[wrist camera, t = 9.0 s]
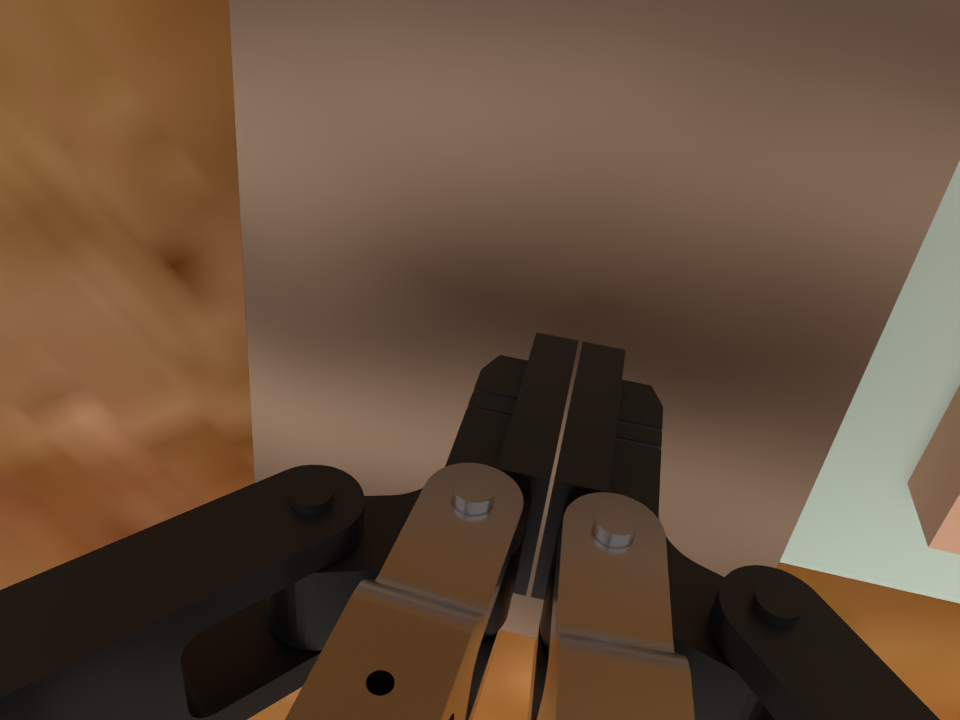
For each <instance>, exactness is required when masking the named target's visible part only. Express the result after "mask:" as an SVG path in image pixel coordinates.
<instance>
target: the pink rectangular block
mask: <svg viewBox="0 0 960 720" xmlns="http://www.w3.org/2000/svg"><path fill="white" fill-rule="evenodd" d="M907 484H908V487H909V491H910V494H911V497H912V500H913V503H914V506H915V509H916V512H917V515H918V518H919V521H920V524H921V527H922V530H923V533H924V536H925V539H926V542H927V546H928V548H933V549H937V550H941V551H946V552H950V553H955V554H959V555H960V385H959V387H958V389H957V391H956V393H955V395H954V396H953V398H952V400H951V402H950V404H949V406H948V408H947V410H946V411H945V413H944V415H943V417H942V419H941V421H940V423H939V425H938V426H937V428H936V430H935V432H934V434H933V436H932V438H931V440H930V441H929V443H928V445H927V447H926V449H925V451H924V453H923V455H922V456H921V458H920V460H919V462H918V464H917V466H916V468H915V469H914V471H913V473H912V475H911V477H910V479H909V481H908V483H907Z"/></svg>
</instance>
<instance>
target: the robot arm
mask: <svg viewBox="0 0 960 720" xmlns="http://www.w3.org/2000/svg"><path fill="white" fill-rule="evenodd" d="M578 342H579V340H574V339H569V338H564V337H559V336H554V335H549V334H544V333H539V332H537V333H536V335H535V339H534V342H533V345H532V349H531V352H530V356H529V359H528V360H523V359H518V358H513V357H509V356H504V355H499V356H498V357H496V358H495V359H494V360H492V361H491V362H490V363H489V364H487V365H486V366H485V367H484V368H482V369H481V371H480V374H479V377H478V379H477V382H476V385H475V387H474V391H473V393H472V395H471V398H470V401H469V404H468V408H467V409H466V412H465V414H464V417H463V420H462V422H461V425H460V428H459V430H458V433H457V436H456V439H455V441H454V444H453V447H452V449H451V452H450V455H449V457H448V460H447V463H446V465H445V467H444V468H442V469H440V470H438V471H437V472H435V473H434V474H433V475H432V476H431V477H430V478H429V479H428V480H427V482H426V483H425V485H424V487H423V488H421V489H419V490H416V491H413V492H410V493H405V494H400V495H380V496H364V493H363V490H362V488H361V486H360V484H359V483H358V482H357V480H356V479H354V478H353V477H352V476H351V475H350V474H348V473H346V472H345V471H342V470H340V469H338V468H335V467H331V466H326V465H302V466H297V467H293V468H290V469H287V470H285V471H282V472H280V473H278V474H275V475H273V476H270V477H268V478H266V479H263V480H261V481H259V482H256V483H254V484H251V485H249V486H247V487H244V488H242V489H240V490H237V491H235V492H232V493H230V494H228V495H225V496H223V497H221V498H218V499H216V500H213V501H211V502H209V503H206V504H204V505H202V506H199V507H197V508H194V509H192V510H190V511H187V512H185V513H183V514H180V515H178V516H175V517H173V518H171V519H168V520H166V521H164V522H161V523H159V524H156V525H154V526H152V527H149V528H147V529H145V530H142V531H140V532H137V533H135V534H133V535H130V536H128V537H126V538H123V539H121V540H118V541H116V542H114V543H111V544H109V545H107V546H104V547H102V548H99V549H97V550H95V551H92V552H90V553H88V554H85V555H83V556H80V557H78V558H76V559H73V560H71V561H69V562H66V563H64V564H61V565H59V566H57V567H54V568H52V569H50V570H47V571H45V572H42V573H40V574H38V575H35V576H33V577H31V578H28V579H26V580H23V581H21V582H19V583H16V584H14V585H12V586H9V587H7V588H4V589H2V590H0V720H247V719H248V718H250V717H252V716H253V715H255V714H257V713H258V712H260V711H262V710H264V709H265V708H267V707H269V706H270V705H272V704H274V703H275V702H277V701H279V700H280V699H282V698H284V697H285V696H287V695H289V694H290V693H292V692H294V691H295V690H297V689H299V688H301V687H302V686H303V687H302V689H301V691H300V693H299V695H298V696H297V698H296V700H295V702H294V704H293V706H292V708H291V710H290V711H289V713H288V715H287V717H286V719H285V720H472V719H473V716H474V713H475V710H476V707H477V704H478V701H479V698H480V695H481V692H482V688H483V685H484V682H485V679H486V676H487V673H488V670H489V667H490V664H491V661H492V658H493V655H494V652H495V649H496V646H497V643H498V640H499V635H500V630H501V627H502V626H503V624H504V623H505V621H506V619H507V616H508V612H509V608H510V603H511V599H512V595H513V593H515V594H519V595H524V596H526V594H527V589H528V585H529V580H530V575H531V570H532V565H533V561H534V556H535V551H536V546H537V541H538V536H539V532H540V527H541V522H542V517H543V512H544V507H545V503H546V498H547V493H548V488H549V483H550V479H551V474H552V469H553V464H554V459H555V454H556V450H557V445H558V440H559V435H560V430H561V425H562V421H563V416H564V411H565V406H566V401H567V396H568V391H569V386H570V381H571V376H572V372H573V367H574V362H575V357H576V352H577V347H578ZM624 360H625V350H624V349H619V348H614V347H609V346H604V345H599V344H594V343H589V342H584V341H583V342H582V347H581V352H580V357H579V361H578V366H577V371H576V376H575V381H574V386H573V390H572V395H571V400H570V405H569V410H568V414H567V419H566V424H565V429H564V434H563V439H562V444H561V449H560V454H559V459H558V463H557V468H556V473H555V478H554V483H553V488H552V493H551V498H550V503H549V508H548V513H547V518H546V523H545V528H544V533H543V538H542V543H541V548H540V553H539V558H538V563H537V568H536V573H535V578H534V583H533V588H532V593H531V597H533V598H537V599H542V600H544V603H543V608H542V614H541V619H540V624H539V629H538V633H537V638H536V642H535V647H534V657H533V668H532V678H531V689H530V700H529V711H528V720H940V719H939V718H938V717H937V716H936V715H935V714H934V713H933V712H932V711H931V710H930V709H929V708H928V707H927V706H926V705H925V704H924V703H923V702H922V701H921V700H920V699H919V698H918V697H917V696H916V695H915V694H914V693H913V692H912V691H911V690H910V689H909V688H908V687H907V686H906V684H905V683H904V682H903V681H902V680H901V679H900V678H899V677H898V676H897V675H896V674H895V673H894V672H893V671H892V670H891V669H890V668H889V667H888V666H887V665H886V664H885V663H884V662H883V661H882V660H881V659H880V658H879V657H878V656H877V655H876V654H875V653H874V652H873V651H872V650H871V648H870V647H869V646H868V645H867V644H866V643H865V642H864V641H863V640H862V639H861V638H860V637H859V636H858V635H857V634H856V633H855V632H854V631H853V630H852V629H851V628H850V627H849V626H848V625H847V624H846V623H845V622H844V621H843V620H842V619H841V618H840V617H839V616H838V615H837V614H836V612H835V611H834V610H833V609H832V608H831V607H830V606H829V605H828V604H827V603H826V602H825V601H824V600H823V599H822V598H821V597H820V596H819V595H818V594H817V593H816V592H815V591H814V590H813V589H812V588H811V587H810V586H808V585H807V584H806V583H804V582H803V581H802V580H800V579H799V578H797V577H795V576H793V575H792V574H789V573H787V572H785V571H783V570H780V569H776V568H773V567H768V566H762V565H749V566H743V567H739V568H737V569H735V570H733V571H731V572H730V573H729V574H727V575H726V576H725V577H723V576H721V575H719V574H717V573H715V572H713V571H711V570H709V569H707V568H705V567H703V566H701V565H699V564H697V563H696V562H694V561H692V560H690V559H689V558H688V557H686V556H685V555H683V554H682V553H681V552H680V551H679V550H678V549H676V548H675V547H674V545H673V544H672V543H671V542H670V541H669V540H668V538H667V537H666V535H665V530H664V528H663V526H662V524H661V522H660V520H659V495H660V472H661V446H662V426H663V405H662V404H661V402H660V400H659V398H658V396H657V395H656V393H655V391H654V389H653V387H652V386H651V385H647V384H642V383H637V382H632V381H627V380H622V377H623V369H624Z"/></svg>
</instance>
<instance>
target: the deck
mask: <svg viewBox="0 0 960 720" xmlns="http://www.w3.org/2000/svg"><path fill="white" fill-rule="evenodd" d="M229 15H230V34H231V52H232V70H233V89H234V107H235V125H236V143H237V162H238V180H239V198H240V217H241V235H242V253H243V272H244V290H245V308H246V326H247V345H248V363H249V381H250V400H251V418H252V436H253V455H254V473H255V483H256V482H259V481H261V480H263V479H266V478H268V477H270V476H273V475H275V474H278V473H280V472H282V471H285V470H287V469H290V468H293V467H297V466H302V465H326V466H331V467H335V468H338V469H340V470H342V471H345V472H346V473H348V474H350V475H351V476H352V477H353V478H354V479H356V480H357V482H358V483H359V484H360V486H361V488H362V490H363V493H364V496H380V495H400V494H405V493H410V492H413V491H416V490H419V489H421V488H423V487H424V485H425V483H426V482H427V480H428V479H429V478H430V477H431V476H432V475H433V474H434V473H435V472H437V471H438V470H440V469H442V468H444V467H445V465H446V463H447V460H448V457H449V455H450V452H451V449H452V447H453V444H454V441H455V439H456V436H457V433H458V430H459V428H460V425H461V422H462V420H463V417H464V414H465V412H466V409H467V408H468V404H469V401H470V398H471V395H472V393H473V391H474V387H475V385H476V382H477V379H478V377H479V374H480V371H481V369H482V368H484V367H485V366H486V365H487V364H489V363H490V362H491V361H492V360H494V359H495V358H496V357H498V356H499V355H504V356H509V357H513V358H518V359H523V360H528V359H529V356H530V352H531V349H532V345H533V342H534V339H535V335H536V333H537V332H539V333H544V334H549V335H554V336H559V337H564V338H569V339H574V340H579V342H578V347H577V352H576V357H575V362H574V367H573V372H572V376H571V381H570V386H569V391H568V396H567V401H566V406H565V411H564V416H563V421H562V425H561V430H560V435H559V440H558V445H557V450H556V454H555V459H554V464H553V469H552V474H551V479H550V483H549V488H548V493H547V498H546V503H545V507H544V512H543V517H542V522H541V527H540V532H539V536H538V541H537V546H536V551H535V556H534V561H533V565H532V570H531V575H530V580H529V585H528V589H527V594H526V596H524V595H519V594H515V593H513V595H512V599H511V603H510V608H509V612H508V616H507V619H506V621H505V623H504V624H503V626H502V627H501V630H503V631H507V632H511V633H515V634H519V635H523V636H527V637H531V638H535V639H536V638H537V633H538V629H539V624H540V619H541V614H542V608H543V603H544V600H542V599H537V598H533V597H531V593H532V588H533V583H534V578H535V573H536V568H537V563H538V558H539V553H540V548H541V543H542V538H543V533H544V528H545V523H546V518H547V513H548V508H549V503H550V498H551V493H552V488H553V483H554V478H555V473H556V468H557V463H558V459H559V454H560V449H561V444H562V439H563V434H564V429H565V424H566V419H567V414H568V410H569V405H570V400H571V395H572V390H573V386H574V381H575V376H576V371H577V366H578V361H579V357H580V352H581V347H582V342H583V341H584V342H589V343H594V344H599V345H604V346H609V347H614V348H619V349H624V350H625V360H624V369H623V377H622V380H627V381H632V382H637V383H642V384H647V385H651V386H652V387H653V389H654V391H655V393H656V395H657V396H658V398H659V400H660V402H661V404H662V405H663V426H662V446H661V472H660V495H659V520H660V522H661V524H662V526H663V528H664V530H665V535H666V537H667V538H668V540H669V541H670V542H671V543H672V544H673V545H674V547H675V548H676V549H678V550H679V551H680V552H681V553H682V554H683V555H685V556H686V557H688V558H689V559H690V560H692V561H694V562H696V563H697V564H699V565H701V566H703V567H705V568H707V569H709V570H711V571H713V572H715V573H717V574H719V575H721V576H723V577H725V576H726V575H727V574H729V573H730V572H731V571H733V570H735V569H737V568H739V567H743V566H749V565H762V566H768V567H773V568H776V569H777V566H778V564H779V562H780V560H781V557H782V555H783V553H784V551H785V548H786V546H787V544H788V542H789V540H790V537H791V535H792V533H793V531H794V528H795V526H796V524H797V522H798V520H799V517H800V515H801V513H802V511H803V508H804V506H805V504H806V502H807V499H808V497H809V495H810V493H811V491H812V488H813V486H814V484H815V482H816V479H817V477H818V475H819V473H820V471H821V468H822V466H823V464H824V462H825V459H826V457H827V455H828V453H829V450H830V448H831V446H832V444H833V442H834V439H835V437H836V435H837V433H838V430H839V428H840V426H841V424H842V421H843V419H844V417H845V415H846V413H847V410H848V408H849V406H850V404H851V401H852V399H853V397H854V395H855V393H856V390H857V388H858V386H859V384H860V381H861V379H862V377H863V375H864V372H865V370H866V368H867V366H868V364H869V361H870V359H871V357H872V355H873V352H874V350H875V348H876V346H877V343H878V341H879V339H880V337H881V335H882V332H883V330H884V328H885V326H886V323H887V321H888V319H889V317H890V315H891V312H892V310H893V308H894V306H895V303H896V301H897V299H898V297H899V294H900V292H901V290H902V288H903V286H904V283H905V281H906V279H907V277H908V274H909V272H910V270H911V268H912V266H913V263H914V261H915V259H916V257H917V254H918V252H919V250H920V248H921V245H922V243H923V241H924V239H925V237H926V234H927V232H928V230H929V228H930V225H931V223H932V221H933V219H934V216H935V214H936V212H937V210H938V208H939V205H940V203H941V201H942V199H943V196H944V194H945V192H946V190H947V188H948V185H949V183H950V181H951V179H952V176H953V174H954V172H955V170H956V167H957V165H958V163H959V161H960V0H229Z"/></svg>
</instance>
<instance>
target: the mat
mask: <svg viewBox="0 0 960 720" xmlns="http://www.w3.org/2000/svg"><path fill="white" fill-rule="evenodd" d="M959 385H960V161H959V163H958V165H957V167H956V170H955V172H954V174H953V176H952V179H951V181H950V183H949V185H948V188H947V190H946V192H945V194H944V196H943V199H942V201H941V203H940V205H939V208H938V210H937V212H936V214H935V216H934V219H933V221H932V223H931V225H930V228H929V230H928V232H927V234H926V237H925V239H924V241H923V243H922V245H921V248H920V250H919V252H918V254H917V257H916V259H915V261H914V263H913V266H912V268H911V270H910V272H909V274H908V277H907V279H906V281H905V283H904V286H903V288H902V290H901V292H900V294H899V297H898V299H897V301H896V303H895V306H894V308H893V310H892V312H891V315H890V317H889V319H888V321H887V323H886V326H885V328H884V330H883V332H882V335H881V337H880V339H879V341H878V343H877V346H876V348H875V350H874V352H873V355H872V357H871V359H870V361H869V364H868V366H867V368H866V370H865V372H864V375H863V377H862V379H861V381H860V384H859V386H858V388H857V390H856V393H855V395H854V397H853V399H852V401H851V404H850V406H849V408H848V410H847V413H846V415H845V417H844V419H843V421H842V424H841V426H840V428H839V430H838V433H837V435H836V437H835V439H834V442H833V444H832V446H831V448H830V450H829V453H828V455H827V457H826V459H825V462H824V464H823V466H822V468H821V471H820V473H819V475H818V477H817V479H816V482H815V484H814V486H813V488H812V491H811V493H810V495H809V497H808V499H807V502H806V504H805V506H804V508H803V511H802V513H801V515H800V517H799V520H798V522H797V524H796V526H795V528H794V531H793V533H792V535H791V537H790V540H789V542H788V544H787V546H786V548H785V551H784V553H783V555H782V557H781V560H780V562H781V563H786V564H790V565H795V566H799V567H803V568H808V569H812V570H816V571H821V572H825V573H829V574H834V575H838V576H843V577H847V578H851V579H856V580H860V581H864V582H869V583H873V584H877V585H882V586H886V587H891V588H895V589H899V590H904V591H908V592H912V593H917V594H921V595H925V596H930V597H934V598H939V599H943V600H947V601H952V602H956V603H960V555H959V554H955V553H950V552H946V551H941V550H937V549H933V548H928V546H927V542H926V539H925V536H924V533H923V530H922V527H921V524H920V521H919V518H918V515H917V512H916V509H915V506H914V503H913V500H912V497H911V494H910V491H909V487H908V484H907V483H908V481H909V479H910V477H911V475H912V473H913V471H914V469H915V468H916V466H917V464H918V462H919V460H920V458H921V456H922V455H923V453H924V451H925V449H926V447H927V445H928V443H929V441H930V440H931V438H932V436H933V434H934V432H935V430H936V428H937V426H938V425H939V423H940V421H941V419H942V417H943V415H944V413H945V411H946V410H947V408H948V406H949V404H950V402H951V400H952V398H953V396H954V395H955V393H956V391H957V389H958V387H959Z"/></svg>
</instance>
